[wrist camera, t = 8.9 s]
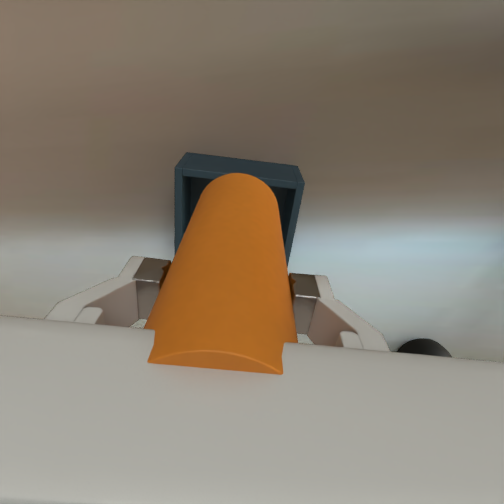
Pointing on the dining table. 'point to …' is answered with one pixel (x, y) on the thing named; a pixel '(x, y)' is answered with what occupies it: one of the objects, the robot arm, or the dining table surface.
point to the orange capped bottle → (227, 284)
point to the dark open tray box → (211, 167)
